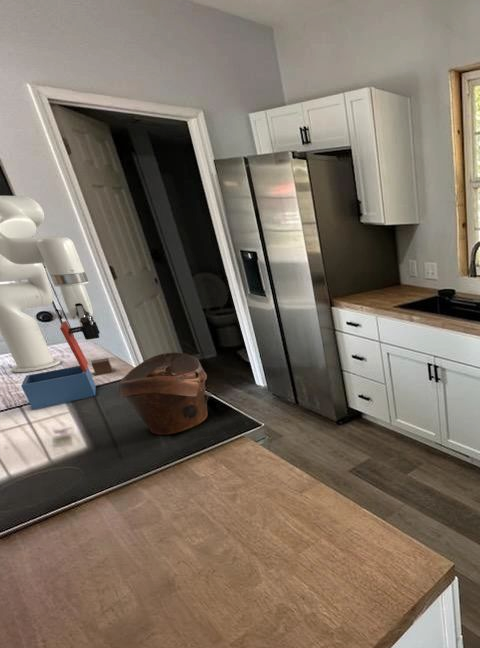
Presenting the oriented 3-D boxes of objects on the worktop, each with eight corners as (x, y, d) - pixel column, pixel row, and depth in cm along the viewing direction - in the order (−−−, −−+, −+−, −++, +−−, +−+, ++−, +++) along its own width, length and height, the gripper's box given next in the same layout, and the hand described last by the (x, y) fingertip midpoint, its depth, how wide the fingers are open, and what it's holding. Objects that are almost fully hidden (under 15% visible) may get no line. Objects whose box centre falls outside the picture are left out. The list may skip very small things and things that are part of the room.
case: (157, 449, 99) (131, 381, 93) (123, 430, 109) (97, 367, 102) (234, 418, 114) (216, 357, 107) (198, 403, 123) (179, 347, 117)
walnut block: (96, 372, 151) (91, 360, 150) (112, 368, 154) (108, 357, 153) (96, 375, 148) (91, 363, 147) (112, 371, 151) (108, 360, 149)
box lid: (59, 328, 122) (84, 323, 125) (62, 321, 130) (85, 317, 133) (83, 372, 128) (106, 366, 131) (84, 363, 135) (106, 358, 139)
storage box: (32, 409, 122) (21, 385, 119) (37, 398, 130) (26, 375, 127) (95, 395, 131) (85, 373, 128) (95, 385, 139) (86, 364, 136)
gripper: (55, 278, 128) (78, 334, 135) (49, 284, 116) (75, 344, 123) (88, 275, 133) (108, 329, 140) (86, 281, 121) (109, 339, 128)
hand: (92, 336), depth 131 cm, fingers closed on box lid, 6 cm apart
